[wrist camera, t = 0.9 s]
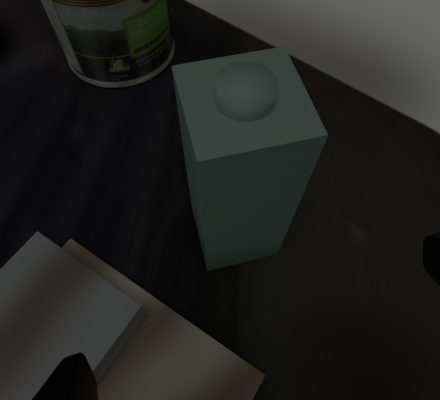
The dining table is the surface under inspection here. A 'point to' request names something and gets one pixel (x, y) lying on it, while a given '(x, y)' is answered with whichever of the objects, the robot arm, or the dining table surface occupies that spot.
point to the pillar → (245, 150)
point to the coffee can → (113, 39)
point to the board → (170, 353)
